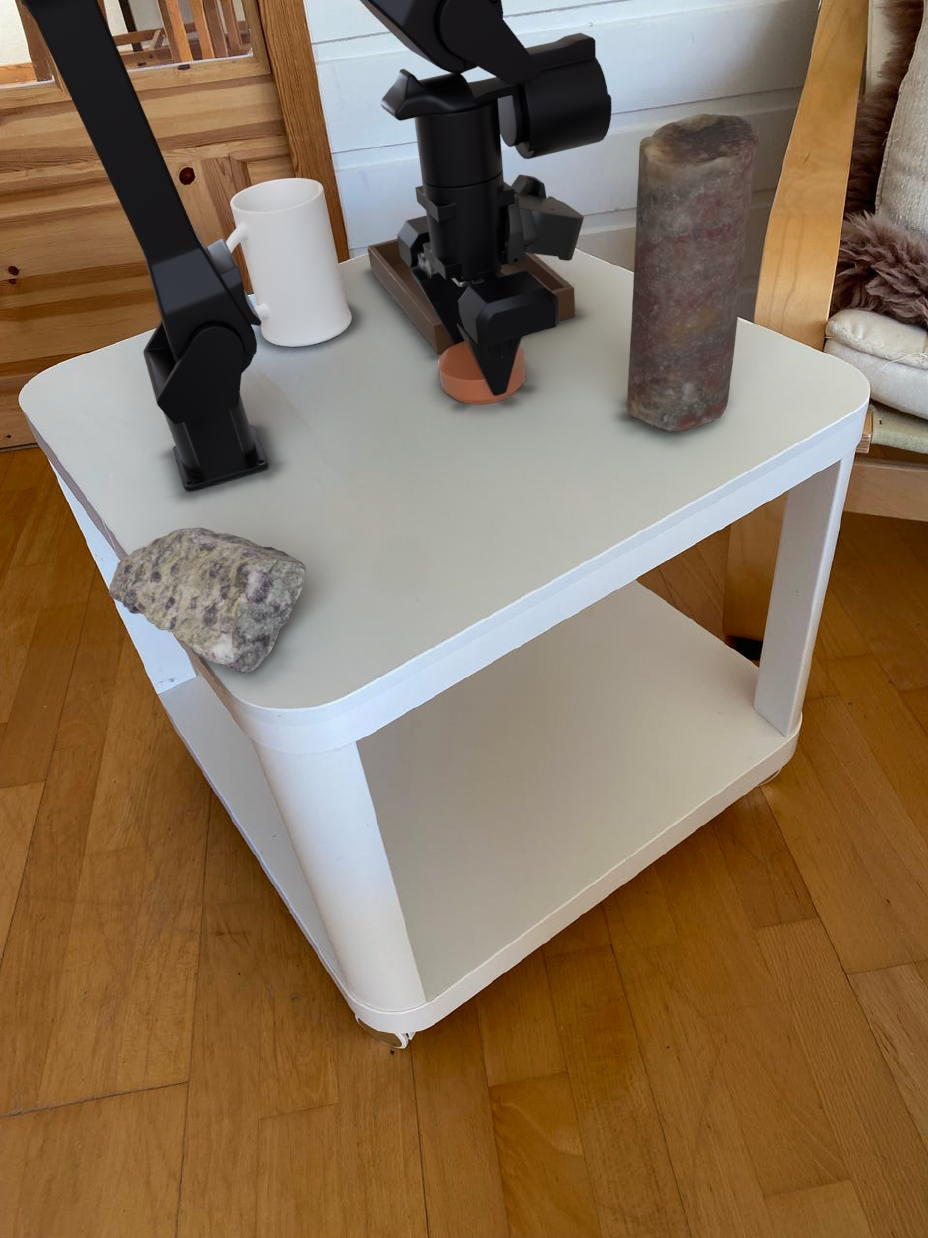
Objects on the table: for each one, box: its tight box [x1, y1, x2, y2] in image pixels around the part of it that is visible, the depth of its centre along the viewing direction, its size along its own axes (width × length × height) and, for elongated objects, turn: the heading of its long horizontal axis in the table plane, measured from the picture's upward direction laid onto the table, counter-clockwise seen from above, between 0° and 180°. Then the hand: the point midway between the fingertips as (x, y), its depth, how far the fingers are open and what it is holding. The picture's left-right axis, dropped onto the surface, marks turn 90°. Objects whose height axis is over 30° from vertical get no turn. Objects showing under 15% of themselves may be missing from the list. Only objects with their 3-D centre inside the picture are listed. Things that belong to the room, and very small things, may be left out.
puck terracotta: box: [437, 341, 527, 405], centre depth 77 cm, size 7×7×2 cm
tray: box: [366, 238, 576, 356], centre depth 89 cm, size 20×13×3 cm, turn 21°
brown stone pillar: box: [626, 113, 760, 433], centre depth 64 cm, size 8×7×20 cm
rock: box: [108, 527, 307, 674], centre depth 58 cm, size 13×6×10 cm
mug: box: [225, 177, 353, 348], centre depth 84 cm, size 12×8×12 cm
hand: (482, 373), depth 77 cm, fingers closed on puck terracotta, 7 cm apart
